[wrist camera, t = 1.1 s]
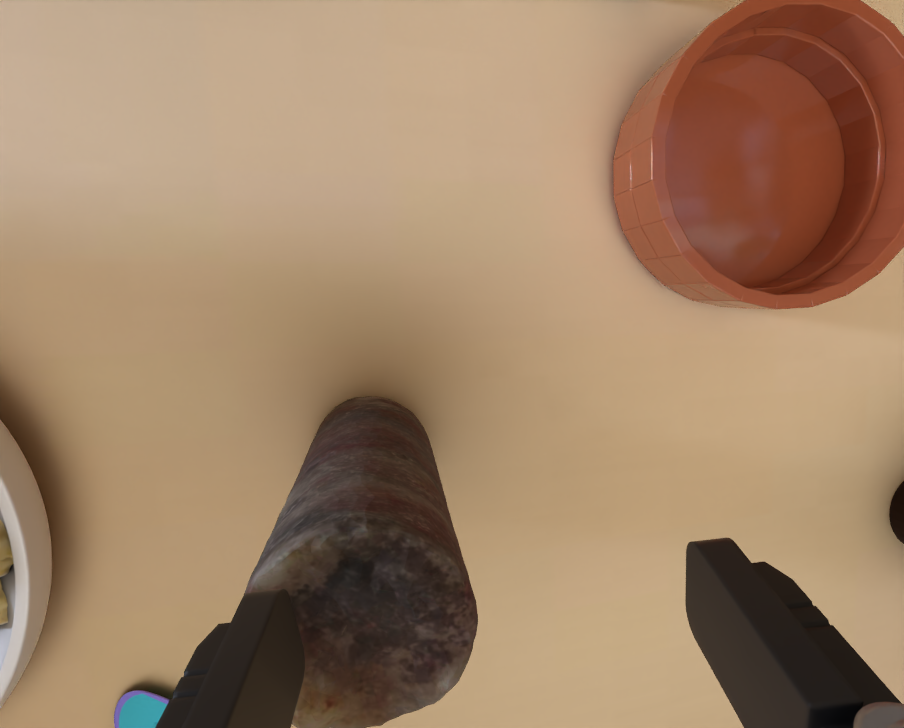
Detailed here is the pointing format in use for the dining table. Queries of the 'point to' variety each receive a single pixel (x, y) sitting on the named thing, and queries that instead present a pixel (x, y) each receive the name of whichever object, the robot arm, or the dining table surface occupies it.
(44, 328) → the dining table surface
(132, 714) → the spoon
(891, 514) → the coffee mug
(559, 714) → the dining table surface
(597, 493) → the dining table surface
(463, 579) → the candle
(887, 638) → the dining table surface
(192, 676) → the robot arm
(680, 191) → the basin
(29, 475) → the bowl
